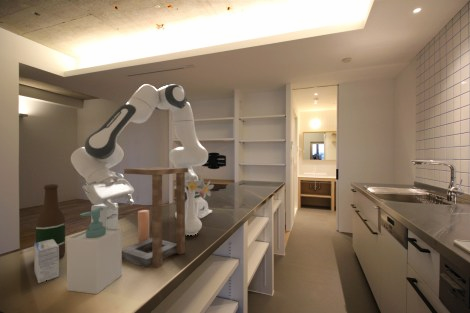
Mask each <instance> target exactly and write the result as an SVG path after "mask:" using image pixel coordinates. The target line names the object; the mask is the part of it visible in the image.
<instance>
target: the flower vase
mask: <svg viewBox="0 0 470 313" xmlns="http://www.w3.org/2000/svg"><path fill="white" fill-rule="evenodd" d="M197 176H198V175H197ZM197 176H194V178H193V177H190V176H187V177H186V178H185V187H186V188H187V189H186V193H187V213H186V216H185V236H187V235H189V237H190V235H192V236H195V234H196V235H198V234H199V231H200V230H201V229H202V227H203V223H202V221H201V219H200V218H199V219H198V218H197V216H196V213H195V204H194V197H195V191H196V192H200V190H203V195H202V196H203V197H202V198H203V199H206V197H207V196H208V197H211V195H212V193H211V190H212V189H213V188H214V186H215V185H214V184H211V180H208V182H207V183H205V179H204V177H202V176H201V177H200V179H198V181H197ZM189 179H190V180H189ZM173 184H174V186H173V187H172V190H176V181H174V182H173ZM188 187H189V188H188ZM197 233H198V234H197Z"/></svg>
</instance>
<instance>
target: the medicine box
mask: <svg viewBox="0 0 470 313" xmlns="http://www.w3.org/2000/svg"><path fill="white" fill-rule="evenodd" d="M33 249H34V250H33V254H34V256H33V257H34V258H33V259H34V262H33V263H34V266H33V267H34V268H33V269H34V275H35V277H36V279H37V284H40V283H44V282H47V281H50V280H54V279H55V278H59V277H60V258H59V246H58V245H57V243H56V242H55V241H54V239H51V240H46V241H42V242H38V243H36V242H35V243H34V248H33ZM46 280H47V281H46Z"/></svg>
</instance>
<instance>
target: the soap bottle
mask: <svg viewBox="0 0 470 313" xmlns="http://www.w3.org/2000/svg"><path fill="white" fill-rule="evenodd" d="M102 210H103V208H98V209H96V210H93V211H91V210H90V211H87V212H83V213H80V214H79V217H86V216H90V217H91V216H92V219H93V223H91V222H90V223H89V225H88V226H89V228H87V229H85V231H83V232H81V233H77V234H75V235H73V236H70V237H68V238H67V239H66V265H67V266H66V291H70V292H77V293H84V294H86V293H87V294H93V295H99V293H101V291H103V290H104V289H106V288H107V287H108V286H110V285H111V284H112V283H114V282H115V281H116V280H118V279H119V278H120V277H121V276H122V275H123V274H122V273H123V272H122V267H123V266H122V263H123V259H122V250H123V249H122V248H123V247H122V245H123V244H122V240H123V239H122V232H123V230H122V228H118V229H111V228H106V227H105V226H103V223H102V222H99V218H100V211H102Z"/></svg>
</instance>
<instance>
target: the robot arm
mask: <svg viewBox="0 0 470 313" xmlns="http://www.w3.org/2000/svg"><path fill="white" fill-rule="evenodd" d="M155 110H159V111H165V110H170V112H171V113H172V114H171V115H172V121H173V127H174V128H173V129H174V135H175V138H176V139H178V141H179V142H180V143H181V145H182V146H178V147H175V148H173V149H171V151H170V152H169V154H168V156H169V157H168V158H169V161H170V163H171V164H172V165H173V166H174V167H173V168H188V172H185V178H186V177H187V176H190V177H193V178H194V176H197V181H198V180H199V177H198V175H197V173H196V172H195V171H194V168H193V167H199V166H203V165H205V164H207V161H208V160H209V153H208V152H209V151H208V150H207V149H206V148H205V147H204V146H203V145H202V144H201V142H200V140H199V138H198V136H197V132H196V126H195V119H194V114H193V110H192V106H191V104H190V102H188V100H187V94H186V92H185V89H184V88H183V86H181V85H180V84H176V83H173V84H172V83H171V84H168V85H165V86H162V87H160V88H158V89H157V88H156V87H155V86H153V85H151V84H147V83H146V84H145V83H144V84H143V85H141V86H140V87H139V88H138V89H137V90H136V91H135V92H134V93H133V94H132V96H130V98H129V99H128V101H127V102H126V103H125V104H122V105H121V106H119V108H117V110H116V111H115V112H114V113H113V114H112V115H111V116H110V117H109V118H108V119H107V121H105V122H104V124H103V125H102V126H101V127H100V128H99V129H97V130H96V131H94V132H92V133H91V134H90V135H88V136H87V138H86V140H85V143H84V146H80V147H79V148H77V149H75V150H74V151H73V152H72V154H71V156H70V162H71V165H72V166H73V168H74V169H75V170H76V172H77V173H78V174H79V175H80V176H82V177H83V178H84V180H85V183H83V185H82V189H83V190H84V192H85V195H86V197H87V198H88V199H89V202H90V203H91V204H92V205H100V204H104V205H105V206H107V207H109V208H111V209H112V210H113V211H114V210H117V209H118V210H119V205H118V206H117V204H114V203H115V202H114V201H116V200H117V201H118V200H120V199H126V200H127V204H128V205H129V206H132V205H133V204H134V203H135V200H134V199H133V196H132V195H133V193H135V188H134V187H133V186H132V185H131V184H130V182H129V181H128V180H127V179H125V177H124V175H123V174H122V173H119V172H115V171H113V170H110V169H112V168H114V167H116V166H117V165H119V164H120V163H121V162H122V161H123V159H124V158H125V152H124V150H123V148H122V147H121V146H120V144H118V142H117V139H118V137H119V135H120V134H121V133H122V131H124V129H125V127H127V126H128V124H129V123H131V122H132V123H134V124H143V123H145V122H147V121H148V120H149V118H150V117H151V116H152V114H153V112H154V111H155ZM189 180H190V179H189ZM188 188H189V187H188ZM186 189H187V188H186V187H185V216H186V213H187V193H186ZM201 195H204V191H203V190H201V189H200V192H196V191H195V197H194V204H195V213H196V216H197V218H198V219H199V220H200V219H203V218H204V217H207V216H209V214H212V213H213V210H212V209H209V204H208V202H207V200H205V198H203V197H202V196H201ZM174 214H175V217H174V218H176V212H175V213H174Z"/></svg>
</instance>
